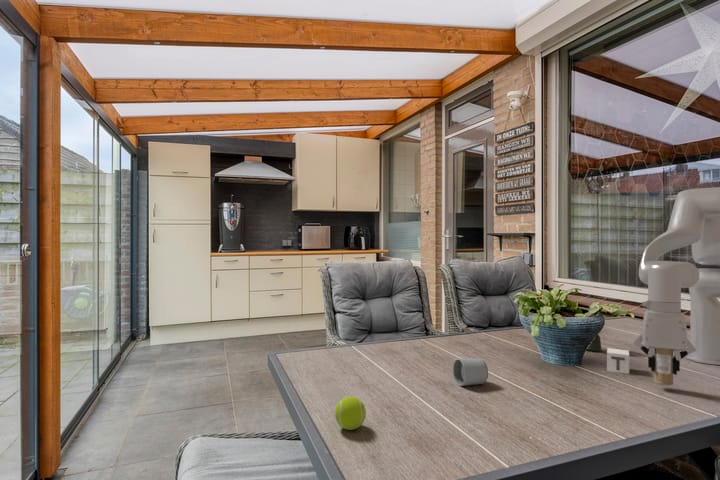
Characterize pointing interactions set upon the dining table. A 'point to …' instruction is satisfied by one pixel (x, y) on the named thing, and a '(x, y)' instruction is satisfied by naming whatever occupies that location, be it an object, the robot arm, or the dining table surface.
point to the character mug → (596, 343)
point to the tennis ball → (350, 413)
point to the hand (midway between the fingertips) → (663, 371)
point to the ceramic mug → (470, 371)
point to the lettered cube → (618, 360)
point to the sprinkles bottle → (663, 366)
